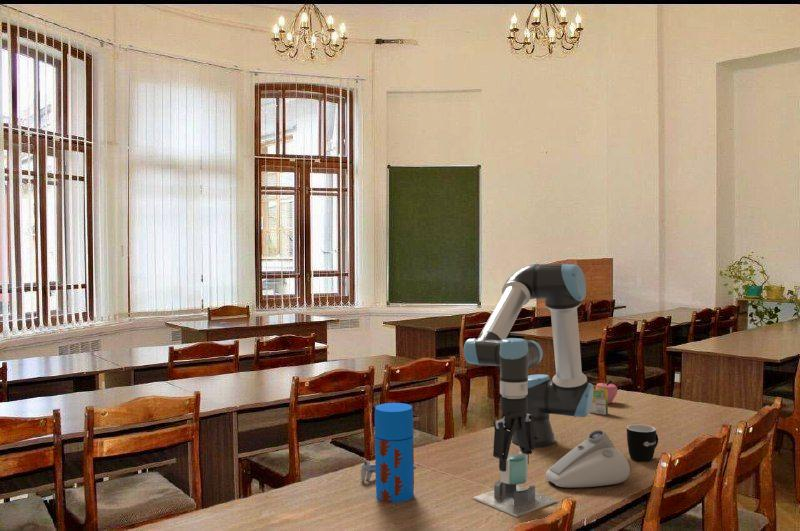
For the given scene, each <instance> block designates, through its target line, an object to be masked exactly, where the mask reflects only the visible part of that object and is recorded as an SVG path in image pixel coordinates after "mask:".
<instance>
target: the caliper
mask: <svg viewBox="0 0 800 531" xmlns="http://www.w3.org/2000/svg"><path fill="white" fill-rule="evenodd" d="M370 462H371V461H370V460H364V463H363V464H362V465H361V469H360V480H361V482H363V483H365V481H367V482H369V481H370V479H371V477H372V475H373V473H375V463H370ZM416 468H417V467H416V466H415V465H414V469H416Z"/></svg>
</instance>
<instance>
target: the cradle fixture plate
mask: <svg viewBox="0 0 800 531" xmlns="http://www.w3.org/2000/svg"><path fill="white" fill-rule="evenodd" d="M493 484H494V487H493V490H490V491H487V492H483V493H481V494H478V495H475V496H473V497H472V499H473V500H474V501H476V502H480V503H482V504H484V505H486V506H489V507H491V508H494V509H496V510H498V511H501V512H503V513H505V514H508V515H511V516H513V517H515V518H518V517H521V516H523V515H526V514H529V513H531V512H534V511H536V510H539V509H542V508H545V507H547V506H550V505H553V504H555V503H557V502H558V499H555V498H554V497H551V496H548V495H545V494H543V493H539V492H537V491H536V485H531V484H530V485H529V487H528V488H526V487H523V486H520V485H519V484H518V485H514V484H506V483H503V482H501V479H499V480H497V481H496V482H494V483H493Z"/></svg>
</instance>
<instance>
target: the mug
mask: <svg viewBox="0 0 800 531" xmlns="http://www.w3.org/2000/svg"><path fill="white" fill-rule="evenodd" d="M626 439H627V442H626V443H627V448H628V454H629V457H630V459H631V460H633V461H635V462H639V463H640V462H641V463H648V462H651V461H652V460H653V458H654V454H655V451H656V450H655V449H656V448H657V446H658V443H659V436H658V433H657V429H656V428H655V427H654V426H652V425H648V424H637V423H635V424H628V425H627V426H626Z"/></svg>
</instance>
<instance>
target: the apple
mask: <svg viewBox="0 0 800 531" xmlns="http://www.w3.org/2000/svg"><path fill="white" fill-rule="evenodd" d="M595 386H606V390H608V405H609V404H611V403H613V401H614V400H615V397H617V393H618V387H617V385H615V384H614V383H613V381H612V380H609V381H608V382H607V383H605V382H598V383H596V385H595ZM595 389H601V388H599V387H595Z"/></svg>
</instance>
